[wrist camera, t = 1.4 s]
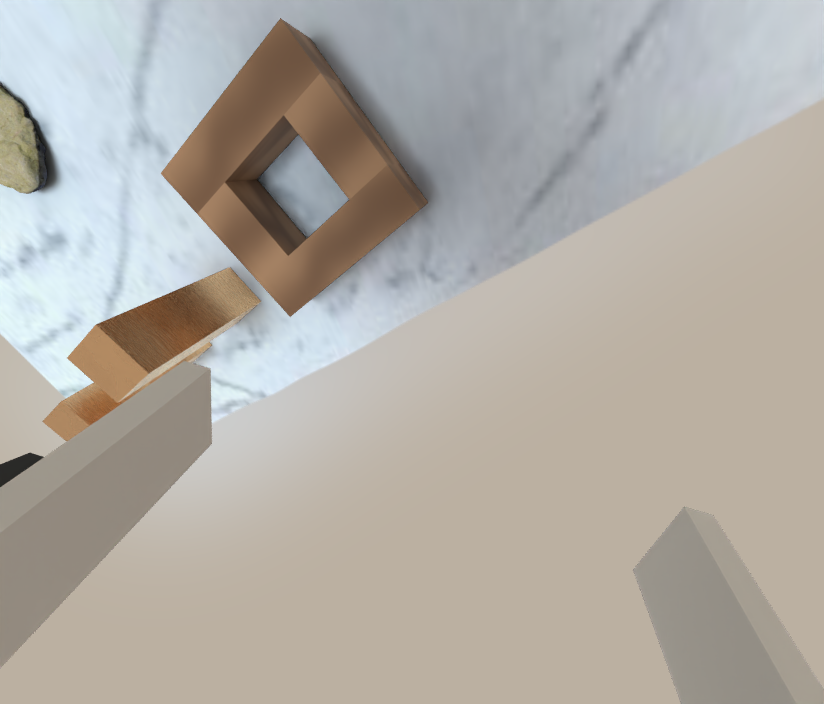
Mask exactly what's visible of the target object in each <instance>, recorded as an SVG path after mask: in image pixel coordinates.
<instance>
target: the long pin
mask: <svg viewBox="0 0 824 704" xmlns="http://www.w3.org/2000/svg"><path fill="white" fill-rule="evenodd" d="M260 302H261V301H260V300H259V299H258V298H257V296H256V295H255V294H254V293H253V292H252V291H251V290H250V289H249V288H248V287H247V286H246V284H245V283H244V282H243V281H242V280H241V279H240V278H239V277H238V276H237V275H236V273H235V272H234V271H233V270H232V269H231V268H230V267H229V268H227V269H225V270H222V271H220V272H218V273H215V274H213V275H211V276H208V277H206V278H204V279H201V280H199V281H197V282H194V283H192V284H190V285H187V286H185V287H183V288H180V289H178V290H176V291H173V292H171V293H169V294H166V295H164V296H162V297H159V298H157V299H155V300H152V301H150V302H148V303H145V304H143V305H141V306H138V307H136V308H134V309H131V310H129V311H127V312H124V313H122V314H120V315H117V316H115V317H113V318H110V319H108V320H106V321H103V322H101V323H99V324H96V325H95V326H94V328H93V329H92V330H91V331H90V332H89V333H88V334H87V336H86V337H85V338H84V339H83V340H82V341H81V342H80V344H79V345H78V346H77V347H76V348H75V349H74V351H73V352H72V353H71V354H70V355H69V356H68V357H67V359H69V360H70V361H71V362H72V363H73V364H74V365H75V366H76V367H78V368H79V369H80V370H81V371H82V372H83V373H84V374H85V375H87V376H88V377H89V378H90V379H91V380H92V381H93V382H94V383H96V384H97V385H98V386H99V387H100V388H101V389H102V390H103V391H105V392H106V393H107V394H108V395H109V396H110V397H111V398H112V399H114V400H115V401H116V402H117V403H118V402H120V401H121V400H123V399H124V398H126V397H127V396H129V395H130V394H132V393H133V392H135V391H136V390H138V389H139V388H141V387H142V386H144V385H145V384H147V383H148V382H150V381H151V380H153V379H154V378H156V377H157V376H159V375H160V374H162V373H163V372H165V371H166V370H168V369H169V368H171V367H172V366H174V365H175V364H177V363H178V362H180V361H181V360H183V359H184V358H186V357H187V356H189V355H190V354H192V353H193V352H195V351H196V350H198V349H199V348H201V347H202V346H204V345H205V344H207V343H208V342H210V341H211V340H213V339H214V338H216V337H217V336H219V335H220V334H222V333H223V332H225V331H226V330H228V329H229V328H231V327H232V326H234V325H235V324H236V323H238V322H239V321H240V320H241V319H242V318H243V317H244V316H245V315H247V314H248V313H249V312H250V311H251V310H252V309H253V308H254V307H256V306H257V305H258V304H259V303H260Z"/></svg>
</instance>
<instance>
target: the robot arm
mask: <svg viewBox="0 0 824 704" xmlns="http://www.w3.org/2000/svg"><path fill="white" fill-rule="evenodd" d="M211 427H212V425H211V371H210V368H207V367H203V366H200V365H197V364H193V363H190V362H186V361H183V362H182V363H180V364H179V365H178V366H176V367H175V368H173V369H172V370H170V371H169V372H167V373H166V374H164V375H163V376H162V377H160V378H159V379H157V380H156V381H154V382H153V383H151V384H150V385H148V386H147V387H146V388H144V389H143V390H141V391H140V392H138V393H137V394H135V395H134V396H132V397H131V398H130V399H128V400H127V401H125V402H124V403H122V404H121V405H119V406H118V407H116V408H115V409H114V410H112V411H111V412H109V413H108V414H106V415H105V416H103V417H102V418H100V419H99V420H98V421H96V422H95V423H93V424H92V425H90V426H89V427H87V428H86V429H85V430H83V431H82V432H80V433H79V434H77V435H76V436H74V437H73V438H71V439H70V440H69V441H67V442H66V443H64V444H63V445H61V446H60V447H58V448H57V449H56V450H54V451H53V452H51V453H50V454H48V455H47V456H45V457H42V456H39V455H36V454H32V453H28V454H25V455H23V456H20V457H18V458H15V459H13V460H10V461H8V462H5V463H3V464H0V668H1V667H2V666H3V665H4V664H5V663H6V662H7V661H8V660H9V659H10V657H11V656H12V655H13V654H14V653H15V652H16V651H17V650H18V649H19V648H20V647H21V646H22V645H23V644H24V643H25V642H26V640H27V639H28V638H29V637H30V636H31V635H32V634H33V633H34V632H35V631H36V630H37V629H38V628H39V627H40V626H41V624H42V623H43V622H44V621H45V620H46V619H47V618H48V617H49V616H50V615H51V614H52V613H53V612H54V611H55V610H56V608H58V607H59V605H60V604H61V603H62V602H63V601H64V600H65V599H66V598H67V597H68V596H69V595H70V594H71V593H72V592H73V591H74V590H75V588H76V587H77V586H78V585H79V584H80V583H81V582H82V581H83V580H84V579H85V578H86V577H87V576H88V574H90V572H91V571H92V570H93V569H94V568H95V567H96V566H97V565H98V564H99V563H100V562H101V561H102V560H103V559H104V558H105V557H106V555H107V554H108V553H109V552H110V551H111V550H112V549H113V548H114V547H115V546H116V545H117V544H118V543H119V542H120V541H121V539H123V537H124V536H125V535H126V534H127V533H128V532H129V531H130V530H131V529H132V528H133V527H134V526H135V525H136V524H137V523H138V522H139V520H140V519H141V518H142V517H143V516H144V515H145V514H146V513H147V512H148V511H149V510H150V509H151V508H152V507H153V506H154V504H156V502H157V501H158V500H159V499H160V498H161V497H162V496H163V495H164V494H165V493H166V492H167V491H168V490H169V489H170V488H171V486H172V485H173V484H174V483H175V482H176V481H177V480H178V479H179V478H180V477H181V476H182V475H183V474H184V473H185V472H186V471H187V470H188V468H189V467H190V466H191V465H192V464H193V463H194V462H195V461H196V460H197V459H198V458H199V457H200V456H201V455H202V454H203V453H204V451H205V450H206V449H207V448H208V447H209V446H210V445H211V444H212V428H211ZM633 571H634V574H635V576H636V579H637V582H638V585H639V588H640V591H641V593H642V596H643V599H644V601H645V604H646V607H647V610H648V613H649V616H650V618H651V621H652V624H653V627H654V630H655V632H656V635H657V638H658V640H659V644H660V647H661V649H662V652H663V655H664V658H665V661H666V663H667V666H668V669H669V672H670V674H671V677H672V680H673V683H674V686H675V688H676V691H677V694H678V697H679V700H680V702H681V704H824V689H823V687H822V685H821V684H820V682H819V681H818V679H817V678H816V676H815V674H814V673H813V672H812V670H811V668H810V666H809V665H808V663H807V662H806V660H805V659H804V657H803V655H802V654H801V652H800V651H799V649H798V648H797V646H796V644H795V643H794V641H793V640H792V638H791V636H790V635H789V634H788V632H787V630H786V629H785V627H784V625H783V624H782V622H781V621H780V619H779V618H778V616H777V614H776V613H775V611H774V610H773V608H772V607H771V605H770V603H769V602H768V600H767V599H766V597H765V596H764V594H763V592H762V591H761V589H760V588H759V586H758V585H757V583H756V581H755V580H754V578H753V577H752V575H751V573H750V572H749V570H748V569H747V567H746V566H745V564H744V562H743V561H742V560H741V558H740V556H739V555H738V553H737V551H736V550H735V548H734V547H733V545H732V544H731V542H730V540H729V539H728V538H727V536H726V534H725V533H724V531H723V529H722V528H721V526H720V525H719V524H718V522H717V520H716V519H715V517H714V515H711V514H708V513H705V512H701V511H698V510H694V509H691V508H687V507H684V508H683V509H682V510H681V511H680V512H679V514H678V515H677V516H676V517H675V519H674V520H673V521H672V522H671V524H670V525H669V526H668V527H667V528H666V530H665V531H664V532H663V533H662V535H661V536H660V537H659V538H658V540H657V541H656V542H655V543H654V545H653V546H652V547H651V548H650V549H649V551H648V552H647V553H646V554H645V556H644V557H643V558H642V559H641V561H640V562H639V563H638V564H637V565H636V567H635V568H634V569H633Z"/></svg>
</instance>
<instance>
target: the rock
mask: <svg viewBox="0 0 824 704" xmlns="http://www.w3.org/2000/svg"><path fill="white" fill-rule="evenodd" d="M27 114H28V113H27V111H26V108H25V107H24V105H23V104H22V103H21V102H20V101H17V100H16V99H15V98H13V97H12V96H11V95H10V94H9V93H8V91H7V90H5V89H3V87H2V86H1V85H0V184H2V185H4V186H7V187H10V188H14V189H15V190H16V191H18V192H20V193H26V194H29V193H32V192H35V191H37V190H39V189H41V188H42V187H43V186H44V185H45V182H46V179H47V170H46V167H45V163H44V160H45V159H46V158H45V156H44V153H45V147H44V145H43V144H41V142H40V140H39V137H38V135H37V131H36V129H35V128H34V125H33V122H32V121H31V119H30V118H29V116H28V115H27Z"/></svg>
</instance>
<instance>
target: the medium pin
mask: <svg viewBox="0 0 824 704" xmlns="http://www.w3.org/2000/svg"><path fill="white" fill-rule="evenodd" d="M148 385H150V383H149V382H148V383H147V384H145V385H144V386H142V387H141V388H139V389H138V390H136V391H135V392H133V393H132V394H130V395H129V396H127V397H126V398H124V399H123V400H121V401H120V402H118V403H117V402H116V401H115V400H114V399H112V398H111V397H110V396H109V395H108V394H107V393H106V392H105V391H103V390H102V389H101V388H100V387H99V386H98V385H97V384H96V383H92V384H91V385H89V386H87V387H85V388H84V389H82V390H80V391H78V392H77V393H75V394H73V395H72V396H70V397H68V398H66V399H65V400H63V401H61V402H60V403H59V405H58V406H57V407H56V408H55V409H54V410H53V411H52V412H51V413H50V414H49V415H48V416H47V417H46V418H45V420H43V422H44V423H45V424H46V425H47V426H48V427H50V428H51V429H52V430H53V431H55V432H56V433H57V434H58V435H60V436H61V437H62V438H63V439H64V440H66V441H69V440H70V439H71V438H73V437H74V436H76V435H77V434H79V433H80V432H82V431H83V430H85V429H86V428H87V427H89V426H90V425H92V424H93V423H95V422H96V421H98V420H99V419H100V418H102V417H103V416H105V415H106V414H108V413H109V412H111V411H112V410H114V409H115V408H116V407H118V406H119V405H121V404H122V403H124V402H125V401H127V400H128V399H130V398H131V397H132V396H134V395H135V394H137V393H138V392H140V391H141V390H143V389H144V388H146V387H147V386H148Z"/></svg>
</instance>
